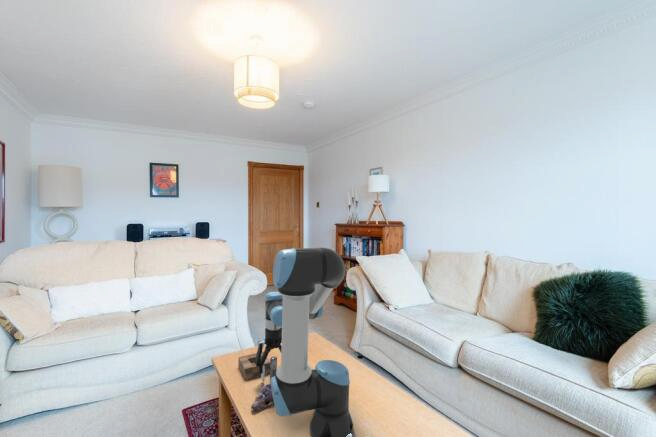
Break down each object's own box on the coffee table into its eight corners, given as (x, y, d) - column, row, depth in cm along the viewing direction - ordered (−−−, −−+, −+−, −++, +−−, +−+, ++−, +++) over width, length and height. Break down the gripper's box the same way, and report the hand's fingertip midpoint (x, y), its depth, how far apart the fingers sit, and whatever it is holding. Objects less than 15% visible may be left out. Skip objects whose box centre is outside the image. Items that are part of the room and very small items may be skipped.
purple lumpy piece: (257, 416, 113) (257, 400, 113) (244, 407, 118) (244, 392, 117) (281, 400, 122) (281, 385, 122) (268, 393, 127) (268, 378, 127)
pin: (277, 380, 136) (278, 358, 135) (271, 382, 134) (271, 360, 134) (275, 377, 138) (275, 355, 138) (269, 379, 137) (269, 357, 136)
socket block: (270, 372, 142) (271, 362, 142) (245, 380, 136) (245, 369, 136) (262, 361, 152) (262, 351, 152) (238, 367, 146) (238, 357, 146)
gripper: (293, 320, 144) (292, 366, 145) (247, 328, 133) (246, 379, 134) (299, 325, 137) (299, 374, 138) (252, 335, 126) (251, 388, 127)
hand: (273, 376), depth 136 cm, fingers open, 9 cm apart
